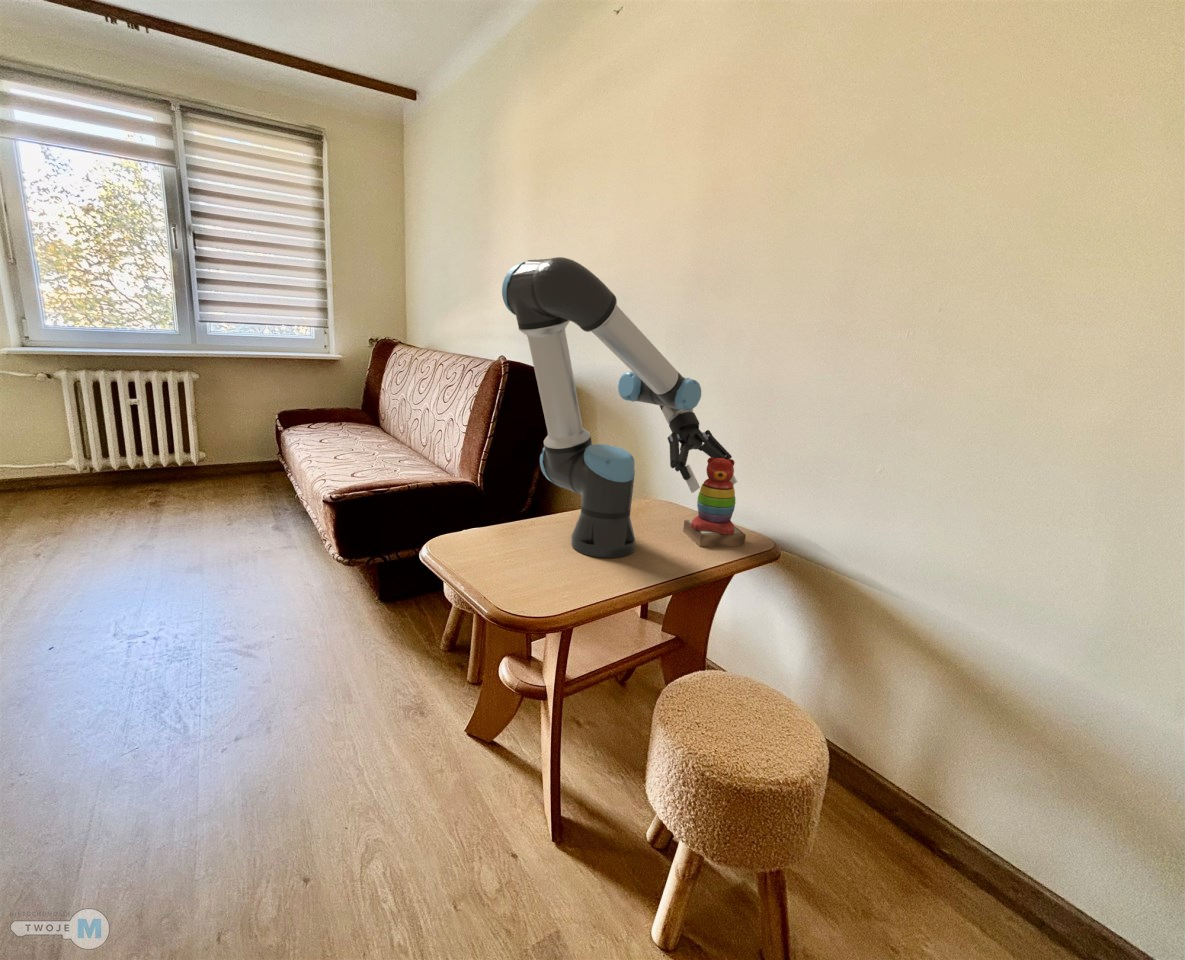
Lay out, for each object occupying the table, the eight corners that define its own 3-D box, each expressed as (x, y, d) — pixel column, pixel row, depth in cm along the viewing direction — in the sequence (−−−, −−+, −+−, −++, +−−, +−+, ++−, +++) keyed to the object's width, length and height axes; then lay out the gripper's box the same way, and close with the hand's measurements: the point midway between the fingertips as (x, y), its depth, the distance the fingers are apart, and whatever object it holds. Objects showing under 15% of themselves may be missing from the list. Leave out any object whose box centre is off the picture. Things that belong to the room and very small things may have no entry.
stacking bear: (689, 529, 136) (697, 459, 132) (693, 517, 146) (701, 452, 141) (733, 536, 133) (743, 465, 129) (735, 523, 143) (744, 457, 138)
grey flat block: (699, 546, 134) (701, 534, 133) (683, 530, 144) (684, 519, 144) (744, 545, 137) (746, 533, 136) (725, 530, 147) (726, 519, 146)
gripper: (705, 424, 156) (738, 489, 149) (637, 428, 142) (670, 499, 135) (721, 409, 151) (756, 475, 143) (653, 411, 137) (688, 485, 129)
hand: (715, 487), depth 139 cm, fingers open, 13 cm apart
